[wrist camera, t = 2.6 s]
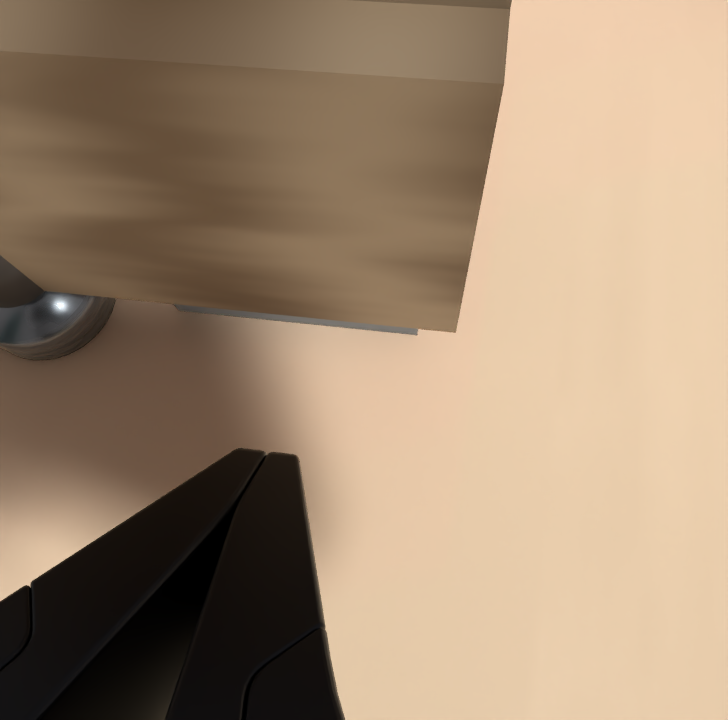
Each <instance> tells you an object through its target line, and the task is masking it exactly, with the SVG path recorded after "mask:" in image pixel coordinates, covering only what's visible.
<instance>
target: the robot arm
mask: <svg viewBox="0 0 728 720" xmlns="http://www.w3.org/2000/svg"><path fill="white" fill-rule="evenodd" d="M0 720H345V718H344V714H343V711H342V707H341V704H340V700H339V696H338V692H337V687H336V682H335V677H334V672H333V668H332V663H331V658H330V651H329V645H328V638H327V632H326V630H325V621H324V615H323V608H322V602H321V595H320V589H319V583H318V576H317V570H316V563H315V557H314V551H313V544H312V538H311V531H310V525H309V519H308V512H307V506H306V499H305V493H304V487H303V480H302V474H301V467H300V461H299V458H298V456H297V455H294V454H286V453H277V452H271V453H269V454H268V455H267V453H266V452H265V451H261V450H253V449H245V448H238V449H236V450H234V451H232V452H231V453H229V454H228V455H226V456H224V457H223V458H221V459H220V460H218V461H217V462H215V463H214V464H212V465H211V466H209V467H207V468H206V469H204V470H203V471H201V472H200V473H198V474H197V475H195V476H194V477H192V478H190V479H189V480H187V481H186V482H184V483H183V484H181V485H180V486H178V487H177V488H175V489H173V490H172V491H170V492H169V493H167V494H166V495H164V496H163V497H161V498H160V499H158V500H157V501H155V502H153V503H152V504H150V505H149V506H147V507H146V508H144V509H143V510H141V511H140V512H138V513H136V514H135V515H133V516H132V517H130V518H129V519H127V520H126V521H124V522H123V523H121V524H119V525H118V526H116V527H115V528H113V529H112V530H110V531H109V532H107V533H106V534H104V535H102V536H101V537H99V538H98V539H96V540H95V541H93V542H92V543H90V544H89V545H87V546H85V547H84V548H82V549H81V550H79V551H78V552H76V553H75V554H73V555H72V556H70V557H69V558H67V559H65V560H64V561H62V562H61V563H59V564H58V565H56V566H55V567H53V568H52V569H50V570H48V571H47V572H45V573H44V574H42V575H41V576H39V577H38V578H36V579H35V580H33V581H32V582H31V588H30V587H29V586H27V585H26V586H23V587H22V588H20V589H19V590H17V591H16V592H14V593H13V594H11V595H9V596H8V597H6V598H5V599H3V600H2V601H0Z"/></svg>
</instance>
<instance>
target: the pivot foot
mask: <svg viewBox="0 0 728 720" xmlns="http://www.w3.org/2000/svg"><path fill="white" fill-rule="evenodd" d="M114 303H115V298H109V297H99V296H89V295H79V294H70V293H60V292H50V291H44V292H43V293H42V294H41V295H40V296H38V297H37V298H36V299H34V300H32V301H31V302H29V303H26V304H24V305H21V306H18V307H13V308H0V347H1V348H3V349H5V350H6V351H8V352H10V353H12V354H14V355H16V356H19V357H22V358H26V359H31V360H48V359H54V358H59V357H62V356H65V355H68V354H70V353H72V352H74V351H76V350H78V349H79V348H81V347H83V346H84V345H85V344H87V343H88V342H89V341H90V340H92V339H93V338H94V337H95V336H96V335H97V334H98V333H99V331H100V330H101V329H102V328H103V326H104V325H105V323H106V322H107V320H108V318H109V316H110V314H111V312H112V309H113V306H114Z"/></svg>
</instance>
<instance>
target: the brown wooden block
mask: <svg viewBox="0 0 728 720" xmlns="http://www.w3.org/2000/svg"><path fill="white" fill-rule="evenodd" d="M511 1H512V0H0V308H13V307H18V306H21V305H24V304H26V303H29V302H31V301H32V300H34V299H36V298H37V297H38V296H40V295H41V294H42V293H43V292H44V291H50V292H60V293H70V294H79V295H89V296H99V297H109V298H119V299H129V300H138V301H148V302H158V303H168V304H178V305H188V306H198V307H207V308H217V309H227V310H237V311H247V312H257V313H267V314H276V315H286V316H296V317H306V318H316V319H326V320H336V321H345V322H355V323H365V324H375V325H385V326H395V327H405V328H414V329H424V330H434V331H444V332H454V333H456V328H457V323H458V318H459V313H460V308H461V303H462V297H463V292H464V287H465V282H466V277H467V272H468V266H469V261H470V256H471V251H472V246H473V241H474V235H475V230H476V225H477V220H478V215H479V210H480V205H481V199H482V194H483V189H484V184H485V179H486V174H487V168H488V163H489V158H490V153H491V148H492V143H493V137H494V132H495V127H496V122H497V117H498V112H499V107H500V101H501V96H502V91H503V86H504V76H505V64H506V52H507V40H508V28H509V16H510V7H511Z"/></svg>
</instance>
